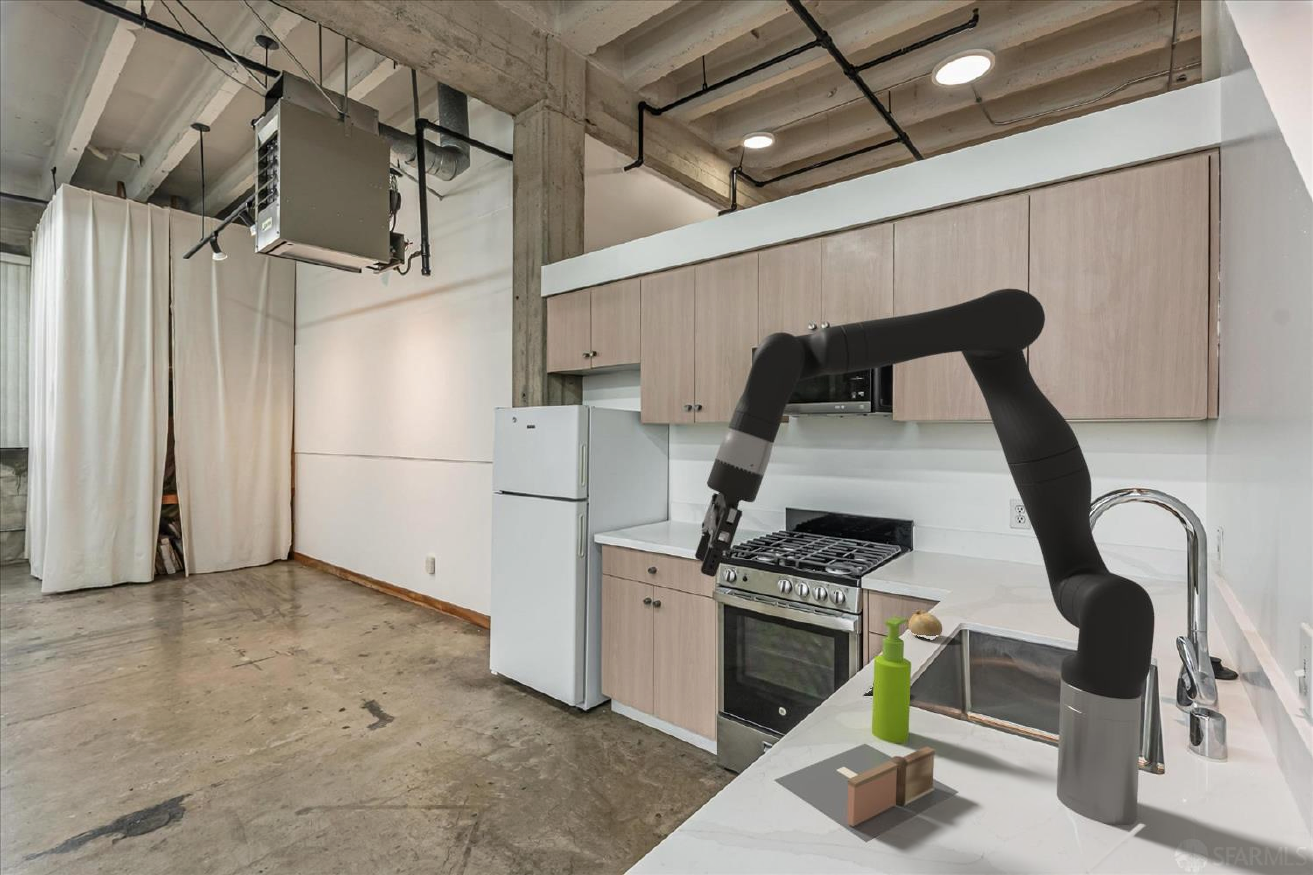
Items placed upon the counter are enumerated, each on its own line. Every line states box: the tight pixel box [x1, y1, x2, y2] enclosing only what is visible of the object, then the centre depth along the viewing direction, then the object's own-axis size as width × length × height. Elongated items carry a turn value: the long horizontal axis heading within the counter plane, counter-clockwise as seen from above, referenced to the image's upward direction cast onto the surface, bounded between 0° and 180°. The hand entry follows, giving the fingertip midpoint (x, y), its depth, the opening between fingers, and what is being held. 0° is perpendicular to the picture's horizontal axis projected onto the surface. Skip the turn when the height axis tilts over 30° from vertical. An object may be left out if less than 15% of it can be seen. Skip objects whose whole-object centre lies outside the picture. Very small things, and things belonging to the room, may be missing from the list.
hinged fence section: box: [847, 761, 898, 826], centre depth 83 cm, size 9×1×6 cm, turn 124°
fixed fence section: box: [892, 746, 936, 806], centre depth 88 cm, size 8×2×6 cm, turn 124°
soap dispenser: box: [871, 616, 912, 744], centre depth 106 cm, size 6×7×20 cm
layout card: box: [773, 743, 959, 843], centre depth 90 cm, size 21×16×1 cm
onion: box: [908, 609, 943, 636], centre depth 160 cm, size 8×8×7 cm
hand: (703, 566), depth 92 cm, fingers open, 8 cm apart
